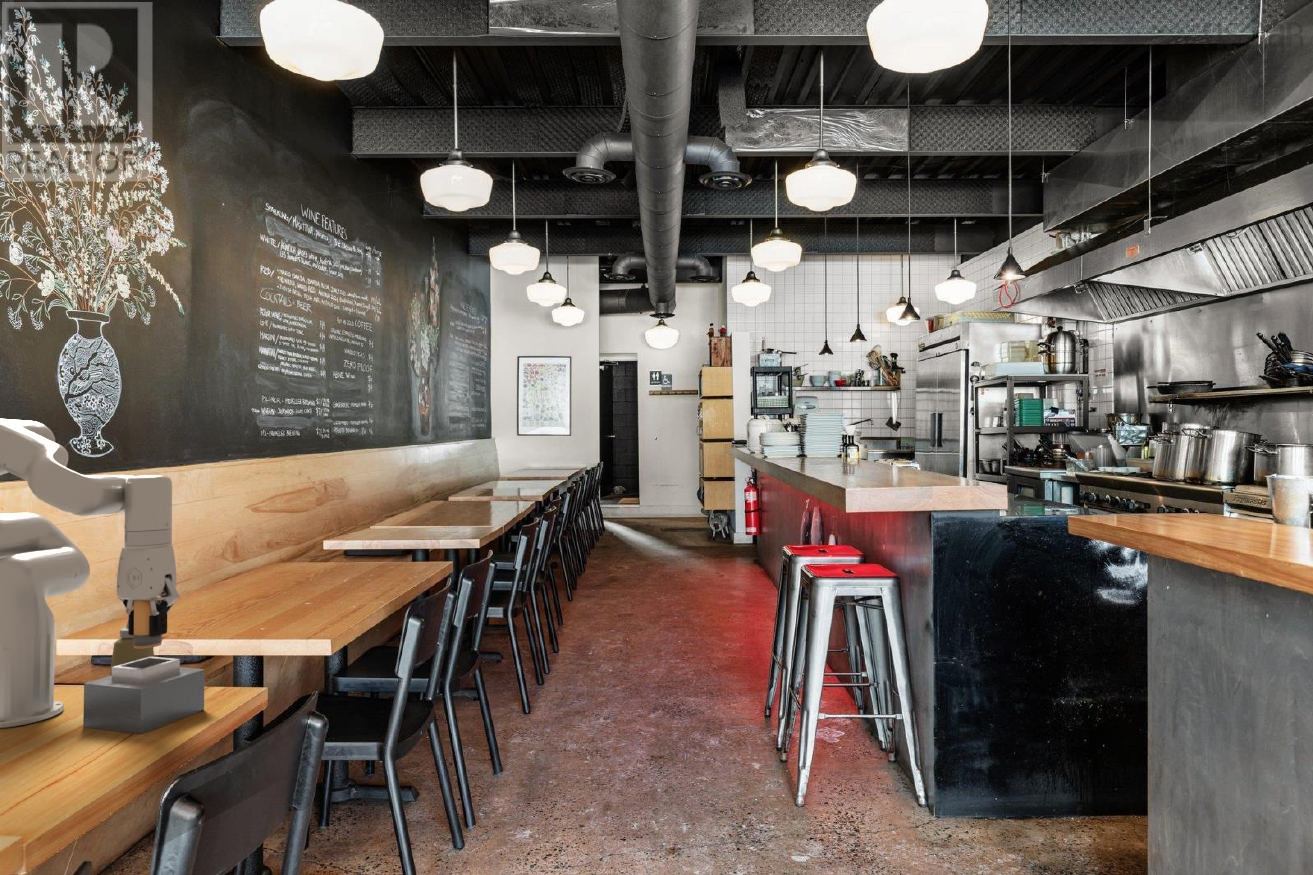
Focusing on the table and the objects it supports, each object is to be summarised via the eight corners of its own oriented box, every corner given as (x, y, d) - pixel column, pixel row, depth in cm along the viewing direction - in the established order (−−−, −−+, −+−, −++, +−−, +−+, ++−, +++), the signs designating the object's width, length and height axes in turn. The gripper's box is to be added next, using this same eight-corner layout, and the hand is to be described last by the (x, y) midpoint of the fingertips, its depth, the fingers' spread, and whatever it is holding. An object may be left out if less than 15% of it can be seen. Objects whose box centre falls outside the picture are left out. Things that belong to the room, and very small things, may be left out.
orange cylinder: (127, 648, 137) (127, 600, 137) (150, 642, 141) (150, 596, 141) (145, 649, 135) (145, 601, 136) (167, 643, 140) (167, 597, 140)
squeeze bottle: (130, 704, 146) (132, 615, 146) (98, 702, 147) (99, 613, 148) (165, 691, 154) (166, 607, 154) (134, 689, 155) (135, 606, 156)
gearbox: (83, 726, 133) (84, 669, 134) (150, 704, 146) (151, 651, 146) (140, 734, 129) (141, 675, 130) (204, 710, 142) (204, 656, 142)
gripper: (96, 540, 137) (95, 636, 137) (163, 542, 133) (163, 641, 132) (134, 536, 145) (133, 627, 144) (199, 537, 140) (199, 632, 139)
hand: (147, 633), depth 138 cm, fingers closed on orange cylinder, 4 cm apart
